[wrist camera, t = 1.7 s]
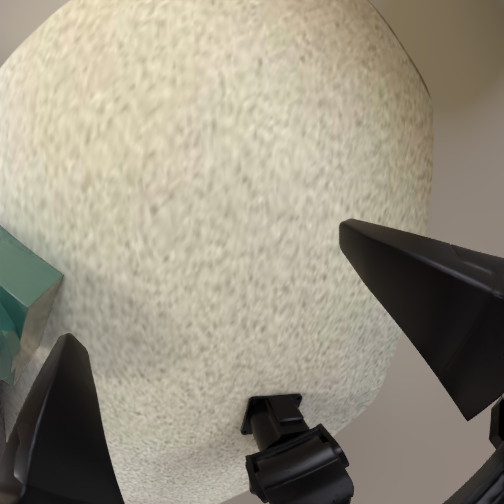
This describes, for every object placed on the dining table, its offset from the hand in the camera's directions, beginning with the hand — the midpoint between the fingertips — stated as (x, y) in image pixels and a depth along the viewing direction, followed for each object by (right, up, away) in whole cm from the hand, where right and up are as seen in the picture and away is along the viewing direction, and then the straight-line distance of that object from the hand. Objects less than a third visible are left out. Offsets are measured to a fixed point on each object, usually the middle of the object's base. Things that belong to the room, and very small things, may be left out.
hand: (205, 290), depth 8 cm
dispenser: (-22, -2, +10) cm, 24 cm away
